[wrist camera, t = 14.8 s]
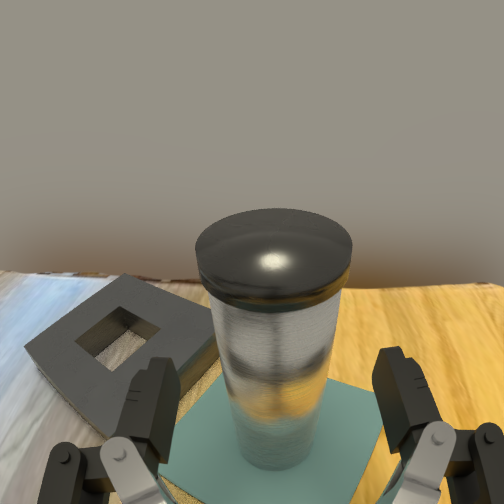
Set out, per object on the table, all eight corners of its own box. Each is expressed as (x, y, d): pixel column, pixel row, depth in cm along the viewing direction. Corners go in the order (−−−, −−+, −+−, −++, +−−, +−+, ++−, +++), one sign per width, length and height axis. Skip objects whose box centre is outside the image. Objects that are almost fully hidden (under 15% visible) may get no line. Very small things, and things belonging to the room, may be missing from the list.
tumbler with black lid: (271, 489, 15) (266, 312, 8) (219, 435, 19) (168, 238, 11) (332, 439, 18) (381, 239, 11) (278, 395, 22) (277, 198, 14)
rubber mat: (318, 555, 11) (319, 555, 11) (144, 463, 17) (142, 460, 17) (390, 401, 21) (391, 397, 20) (244, 350, 27) (243, 346, 26)
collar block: (125, 456, 18) (109, 437, 16) (37, 367, 24) (23, 346, 23) (233, 341, 28) (229, 316, 26) (131, 295, 34) (124, 273, 33)
